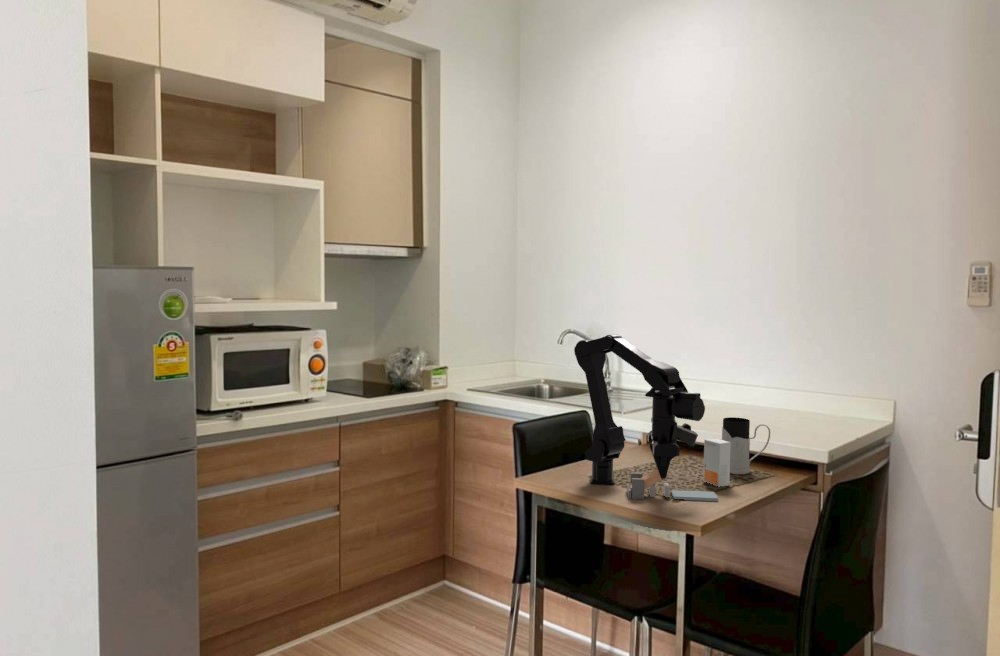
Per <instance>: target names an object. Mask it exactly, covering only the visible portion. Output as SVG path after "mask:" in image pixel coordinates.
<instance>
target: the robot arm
mask: <svg viewBox="0 0 1000 656" xmlns="http://www.w3.org/2000/svg"><path fill="white" fill-rule="evenodd" d="M573 351H574V355H575V358H576V362H577V364H578V365H579V367H580V368H581V370H582V371H583V372H584V374H585V379H586V384H587V390H588V394H589V399H590V403H591V409H592V414H593V418H594V429H593V431H592V445H591V446H590V447H589V448H588V449H586V451H585V452H584V454H585V455H584V456H585V458H586V459H585V460H586V461H590V462H591V465H592V466H591V476H590V477H589V480H590V484H597V485H598V484H599V485H600V484H601V485H615V482H616V481H615V477H614V460H616V459H619V458H620V455H621V452H622V451H623V449H624V448H625V441H626V438H625V435H624V428H623V426H622V425H619V426H618V425H617V424H616V423H615V421H614V417H613V413H612V408H611V403H610V399H609V394H608V389H607V384H606V379H605V374H604V367H605V364H606V356H607V355H606V354H608V353H611V352H612V353H613V354H614V355H616V356H617V357H619V358H620V359H622V360H623V361H625V362H626V363H627V364H628V365H630V366H631V367H632V368H634V369H636V371H638V372H639V373H641V375H642V376H643V379H644V381H645V382H646V383H647V384H648V385H649V386H650V387H651V388H650V390H649V391H648V392H647V393H645V394H644V396H645V397H647V398H652V407H651V408H652V409H651V410H652V411H651V413H652V414H651V415H652V416H651V419H650V421H651V430H650V431H649V432H648V433H647V442H648V446H649V448H650V449H649V450H650V452H651V455H652V457H653V460H654V463H655V466H656V469H658V471H659V474H660V477H661V479H662V480H665V479H667V477H666V475H667V473H668V471H669V468H670V463H671V460H673V459H674V458H676V457H680V456H681V455H680V451H681V449H680V447H679V445H678V444H677V443H678V441H680V442H682V443H684V444H687V445H688V446H691V447H694V446H695V444H696V441H697V439H698V436H699V434H698V433H697V432H695V430H692V426H691V425H690V424H688V423H686V422H685V423H683V424H682V425H678V422H677V421H676V418H677V419H682V420H689V421H694V422H699V421H701V420H702V419H703V417H704V415H705V412H706V411H705V409H706V406H705V403H704V400H703V399H702V398H701V392H689V391H688V389H687V387H686V385H685V384H684V382H683V380H682V378H681V375H680V371H679V370H678V369H677V368H676V367H675V366H673V365H670V364H667V363H666V362H663V361H659V360H656V359H654V358H652V357H650V356H649V355H647V354H646V353H645V352H644V351H642V350H641V349H639V348H637V347H636V346H635V345H633V344H632V343H630V342H629V341H627V340H626V339H624V338H623V337H622V335H620V334H607V335H606V336H603V337H599V338H596V339H583V340H579V341H578V342H577V343H576V345H575V346H574V349H573Z"/></svg>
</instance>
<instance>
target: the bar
mask: <svg viewBox="0 0 1000 656" xmlns="http://www.w3.org/2000/svg"><path fill="white" fill-rule="evenodd" d="M667 477H669V473H668V472H667V475H666V478H667ZM641 478H644V490H646V489H649V487H650V486H651V485H653V484H655V485H656V484H657V483H659V482H661V481H662V480H663V479H661V477H660V474H659V471H658V469H657V468H656V469H654V470H652V471H651V472H648V473H647V474H645V475H644V476H643V475H642V477H641ZM628 484H629V485H630V488H631V490H632V483H631V484H630V483H628Z"/></svg>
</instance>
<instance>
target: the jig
mask: <svg viewBox="0 0 1000 656" xmlns="http://www.w3.org/2000/svg"><path fill="white" fill-rule="evenodd" d="M641 477H643V472H637V471H636V472H630V475H629V478H630V482H629V483H628V482H627V483H626V492H627V497H628V499H630V500H631V499H634V500H645V489H644V478H641ZM631 483H632V490H631V488H630V485H629V484H631ZM670 489H671V486H670V484H669V483H668V482H664V483H663V493H664V495H663V497H664V496H665V497H670V494H671V490H670ZM648 495H650V496H649V497H650V498H655V496H656V483H655V484H653V485H651V486H650V487H648ZM665 497H664V498H665Z"/></svg>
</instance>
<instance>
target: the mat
mask: <svg viewBox="0 0 1000 656" xmlns="http://www.w3.org/2000/svg"><path fill="white" fill-rule="evenodd" d="M671 493H672V494H671ZM670 494H671V497H672V496H673V497H672V499H673V498H674V499H684V500H683V501H698V502H699V501H700V502H701V501H702V502H703V501H705V502H719V496H718V495H717V494H716V492H715V491H707V490H706V491H705V490H704V491H703V490H702V491H701V490H673V489H671V490H670ZM674 499H673V500H674Z"/></svg>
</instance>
